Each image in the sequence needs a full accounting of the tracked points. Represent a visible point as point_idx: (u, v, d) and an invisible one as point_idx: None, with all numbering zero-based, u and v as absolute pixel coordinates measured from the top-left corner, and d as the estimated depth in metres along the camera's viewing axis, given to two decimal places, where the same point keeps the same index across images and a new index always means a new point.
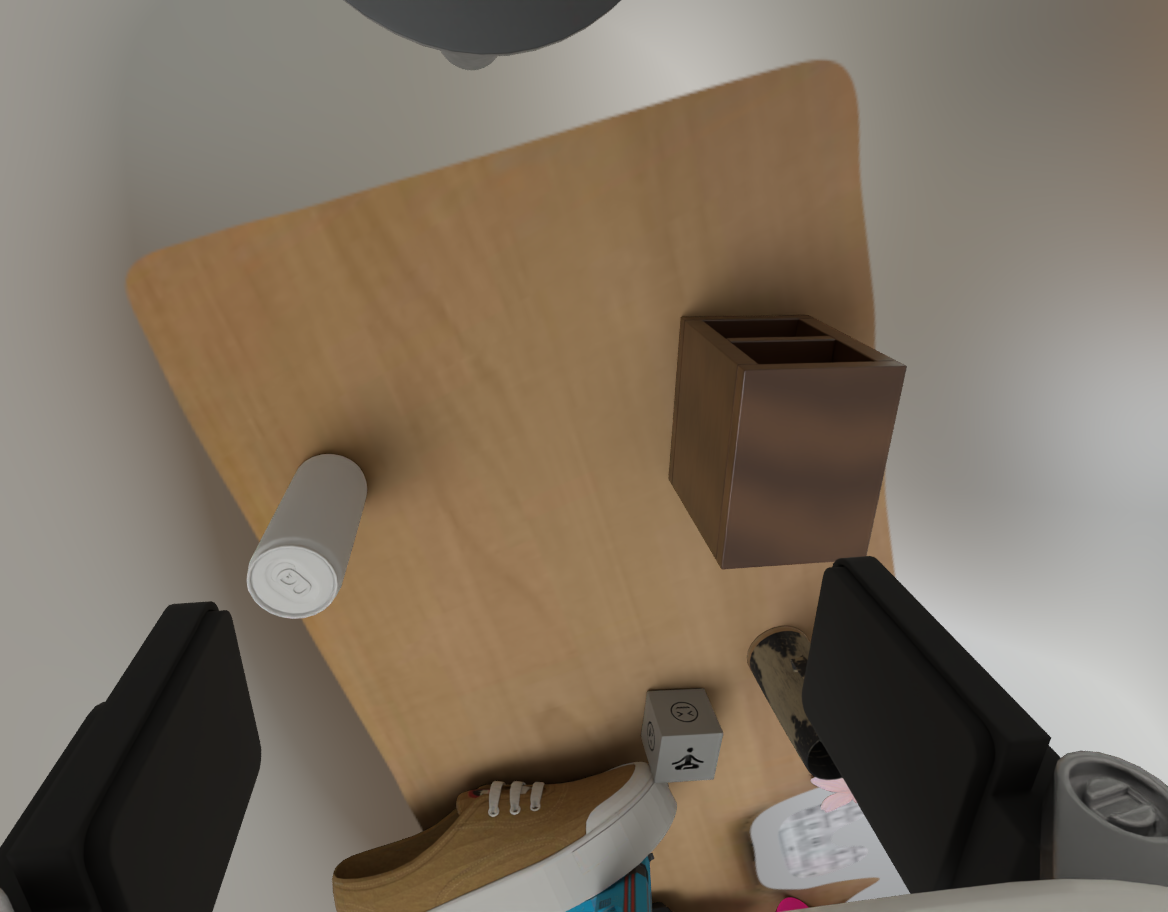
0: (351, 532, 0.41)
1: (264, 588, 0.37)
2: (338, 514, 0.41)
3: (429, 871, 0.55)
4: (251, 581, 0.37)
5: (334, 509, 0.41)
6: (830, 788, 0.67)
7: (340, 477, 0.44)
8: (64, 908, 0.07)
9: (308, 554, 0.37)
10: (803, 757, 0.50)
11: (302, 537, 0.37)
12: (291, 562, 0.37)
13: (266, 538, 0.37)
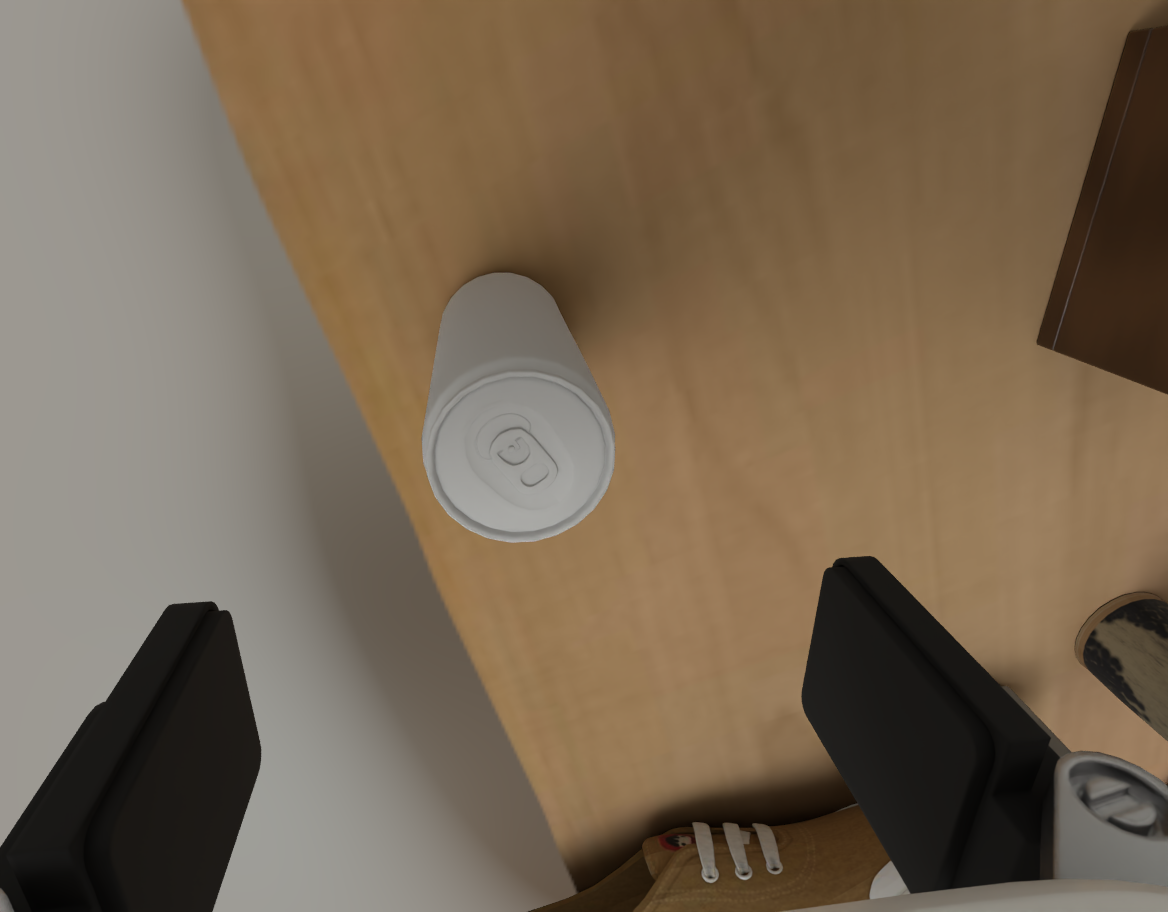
0: None
1: (460, 473, 0.17)
2: (573, 345, 0.20)
3: None
4: (434, 456, 0.17)
5: (565, 335, 0.20)
6: None
7: (543, 299, 0.24)
8: (64, 908, 0.07)
9: (561, 396, 0.16)
10: None
11: (545, 358, 0.17)
12: (524, 414, 0.17)
13: (462, 365, 0.17)
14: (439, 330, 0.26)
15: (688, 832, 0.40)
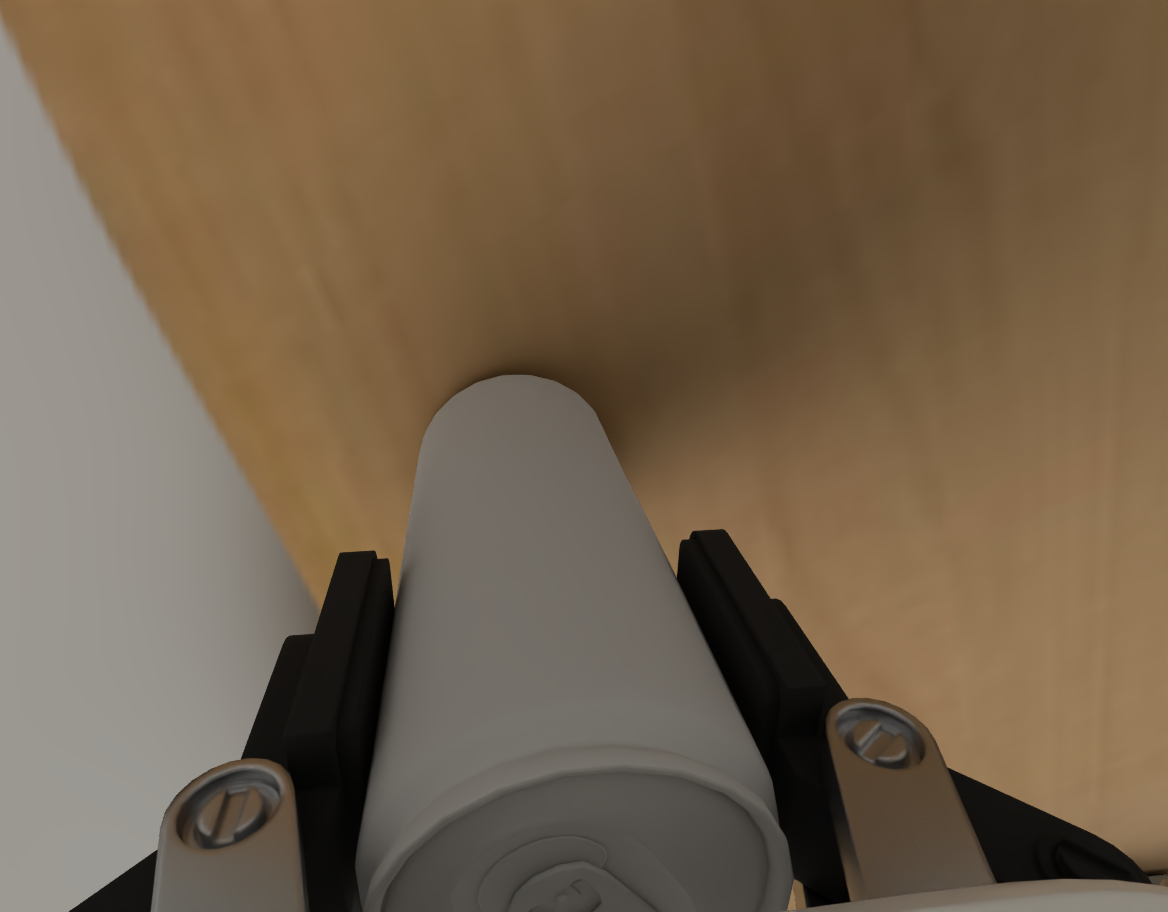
0: None
1: None
2: (659, 558, 0.11)
3: None
4: None
5: (642, 538, 0.11)
6: None
7: (587, 434, 0.14)
8: (317, 787, 0.08)
9: (682, 794, 0.07)
10: None
11: (637, 693, 0.07)
12: (593, 834, 0.07)
13: (446, 694, 0.08)
14: (417, 466, 0.17)
15: None
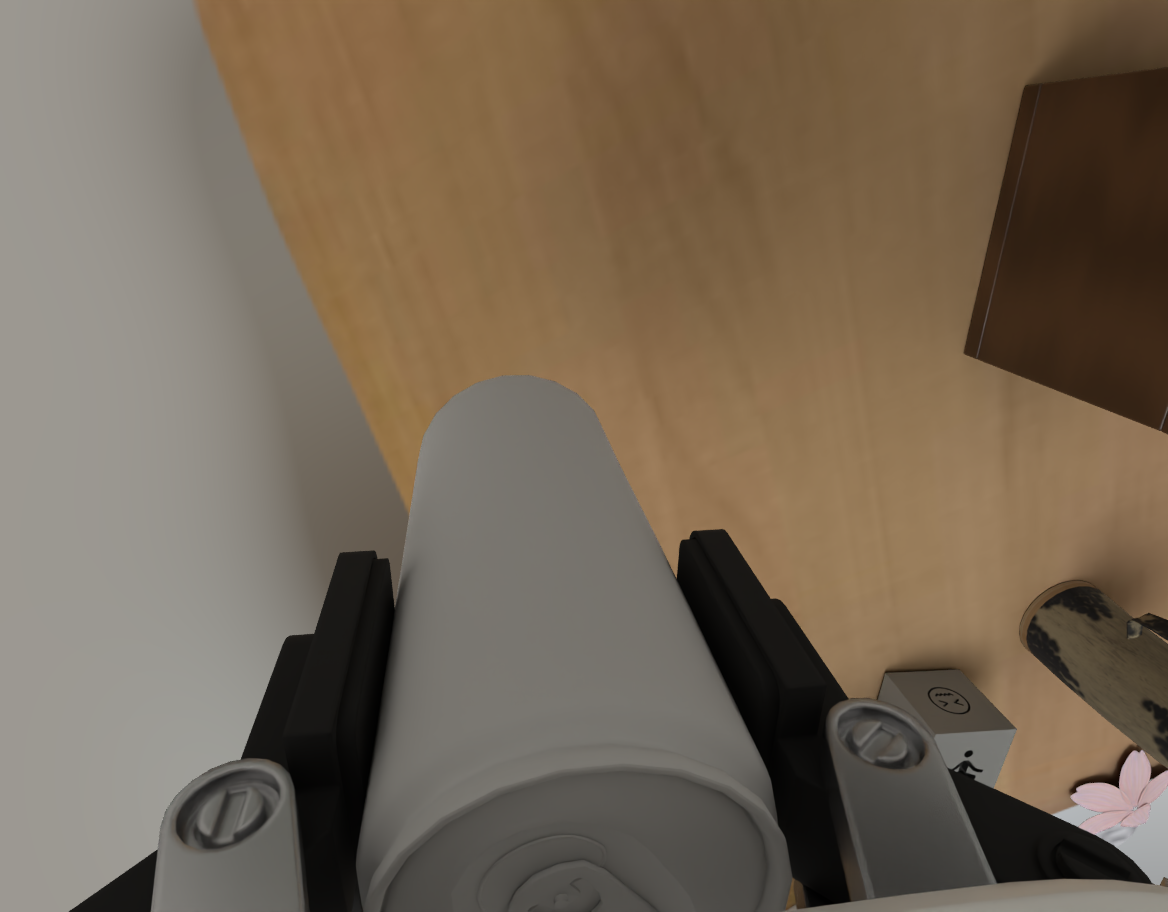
0: None
1: None
2: (659, 558, 0.11)
3: None
4: None
5: (641, 538, 0.11)
6: (1094, 807, 0.50)
7: (587, 434, 0.14)
8: (317, 787, 0.08)
9: (681, 794, 0.07)
10: None
11: (637, 693, 0.07)
12: (592, 834, 0.07)
13: (446, 694, 0.08)
14: (417, 466, 0.17)
15: None
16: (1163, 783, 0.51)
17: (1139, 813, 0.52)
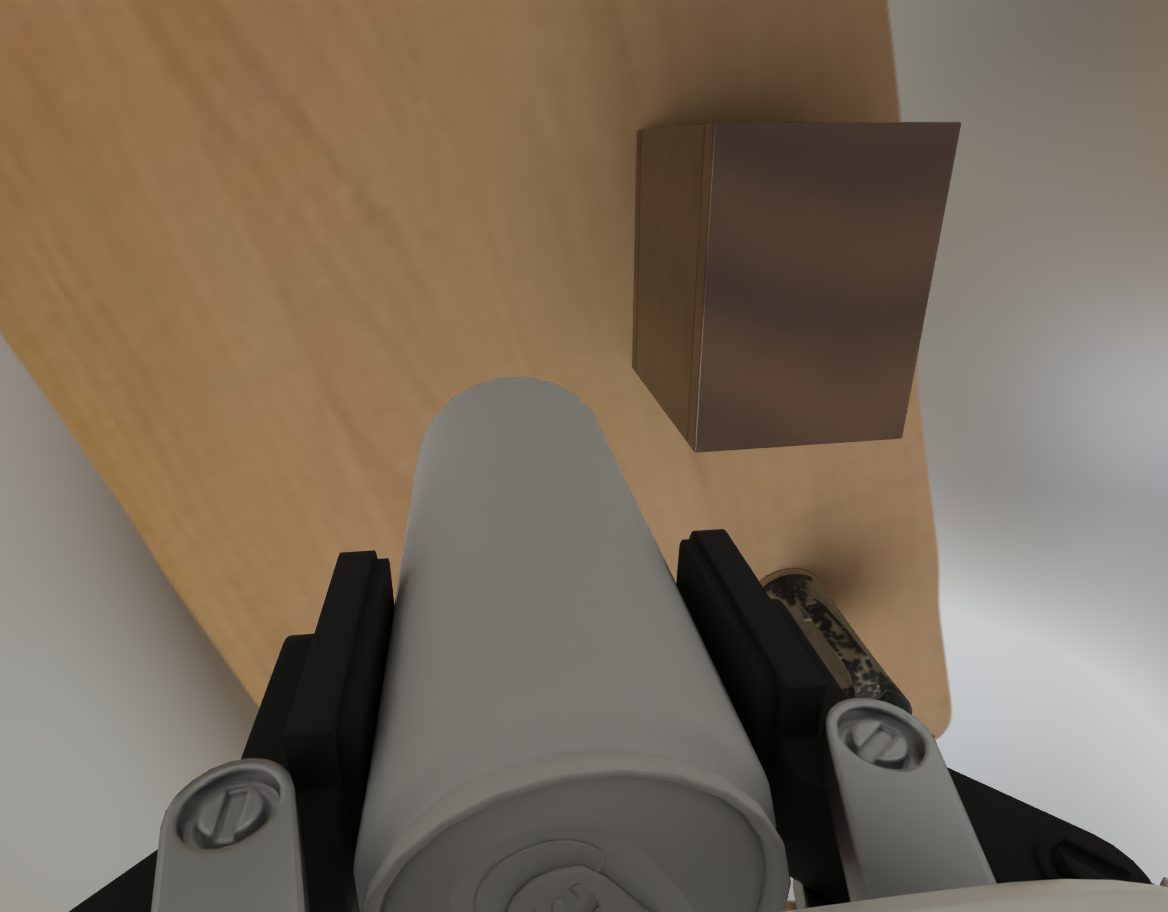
0: None
1: None
2: (658, 562, 0.11)
3: None
4: None
5: (640, 541, 0.11)
6: None
7: (586, 437, 0.14)
8: (317, 787, 0.08)
9: (679, 798, 0.07)
10: None
11: (635, 699, 0.07)
12: (591, 839, 0.07)
13: (444, 699, 0.08)
14: (416, 468, 0.17)
15: None
16: None
17: None
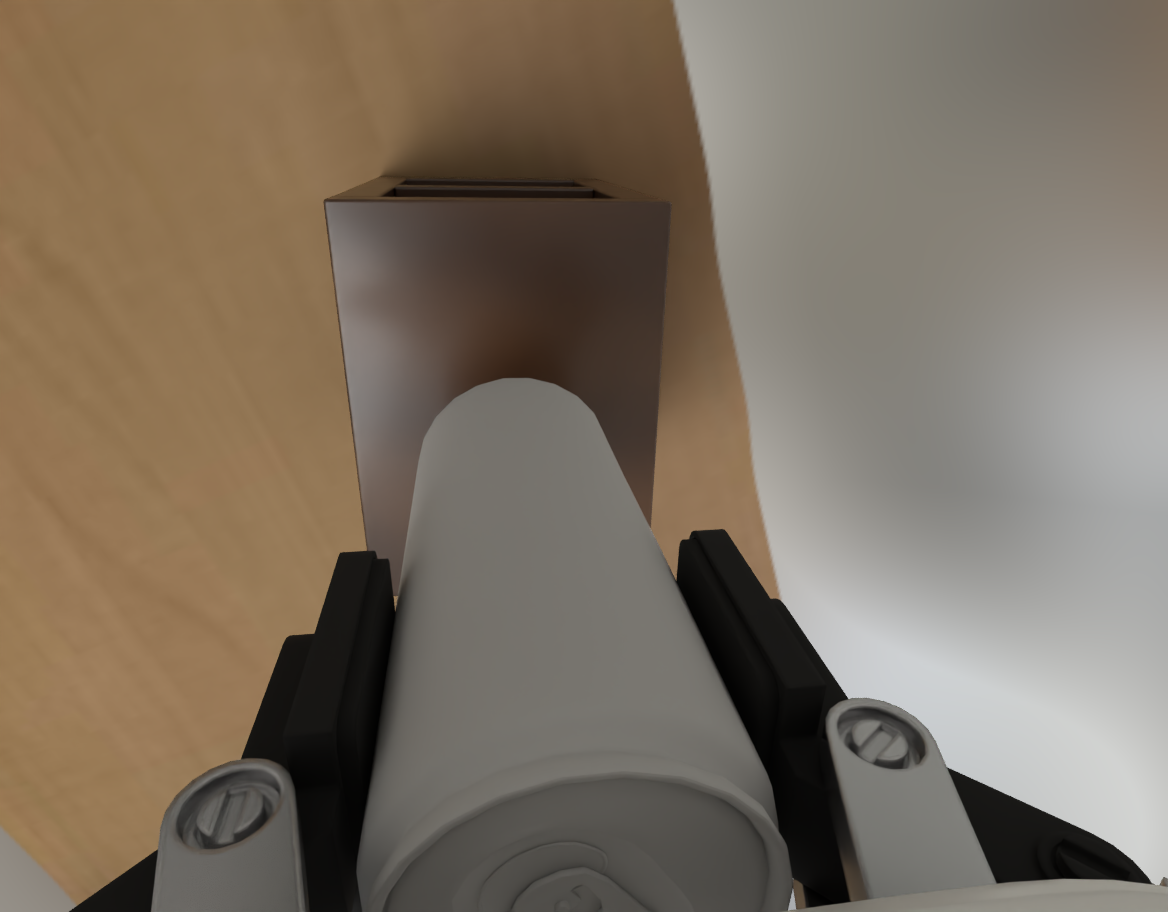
0: None
1: None
2: (660, 563, 0.11)
3: None
4: None
5: (642, 543, 0.11)
6: None
7: (587, 438, 0.14)
8: (317, 786, 0.08)
9: (682, 800, 0.07)
10: None
11: (638, 700, 0.07)
12: (594, 840, 0.07)
13: (447, 700, 0.08)
14: (417, 469, 0.17)
15: None
16: None
17: None
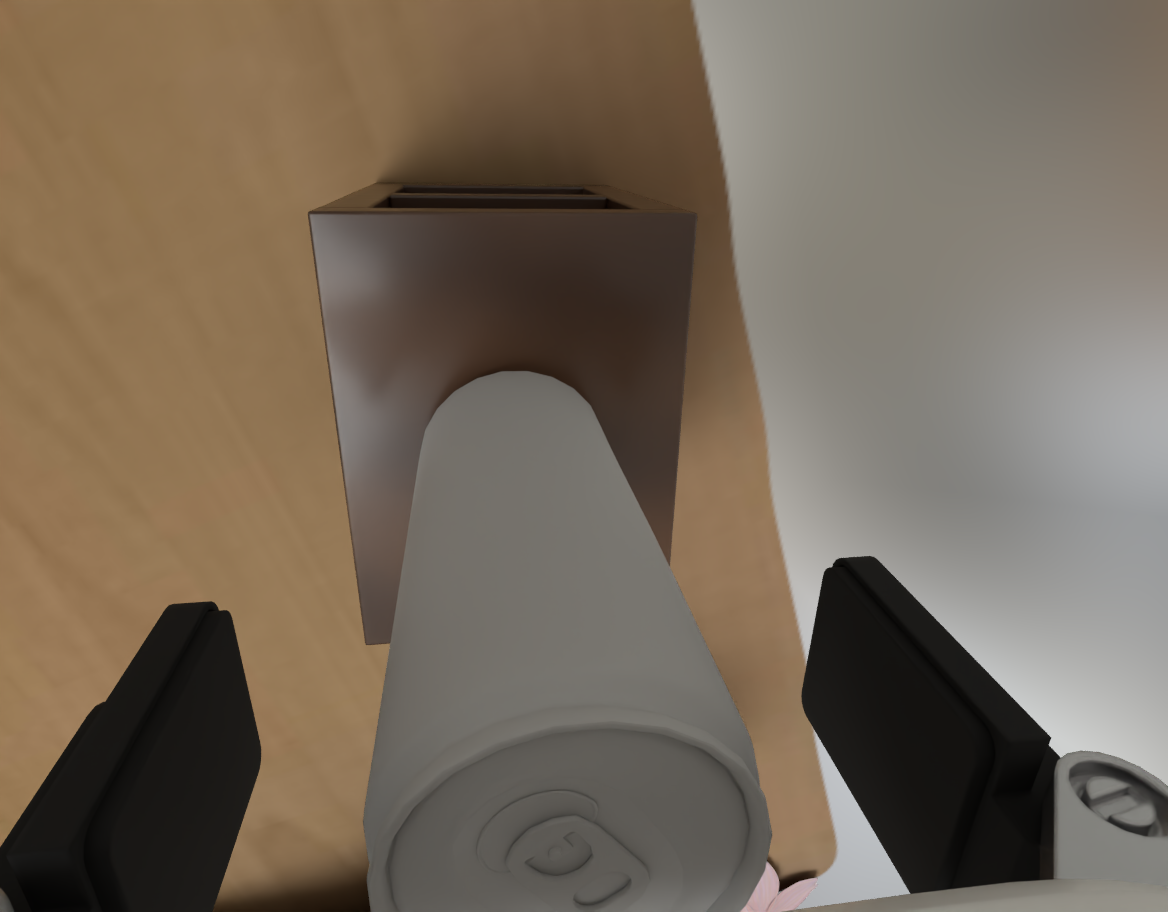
0: None
1: (444, 901, 0.08)
2: (651, 543, 0.11)
3: None
4: (387, 877, 0.08)
5: (634, 523, 0.12)
6: None
7: (584, 427, 0.15)
8: (64, 908, 0.07)
9: (666, 751, 0.07)
10: None
11: (626, 659, 0.08)
12: (584, 789, 0.08)
13: (448, 662, 0.08)
14: (419, 459, 0.17)
15: None
16: (800, 893, 0.47)
17: None
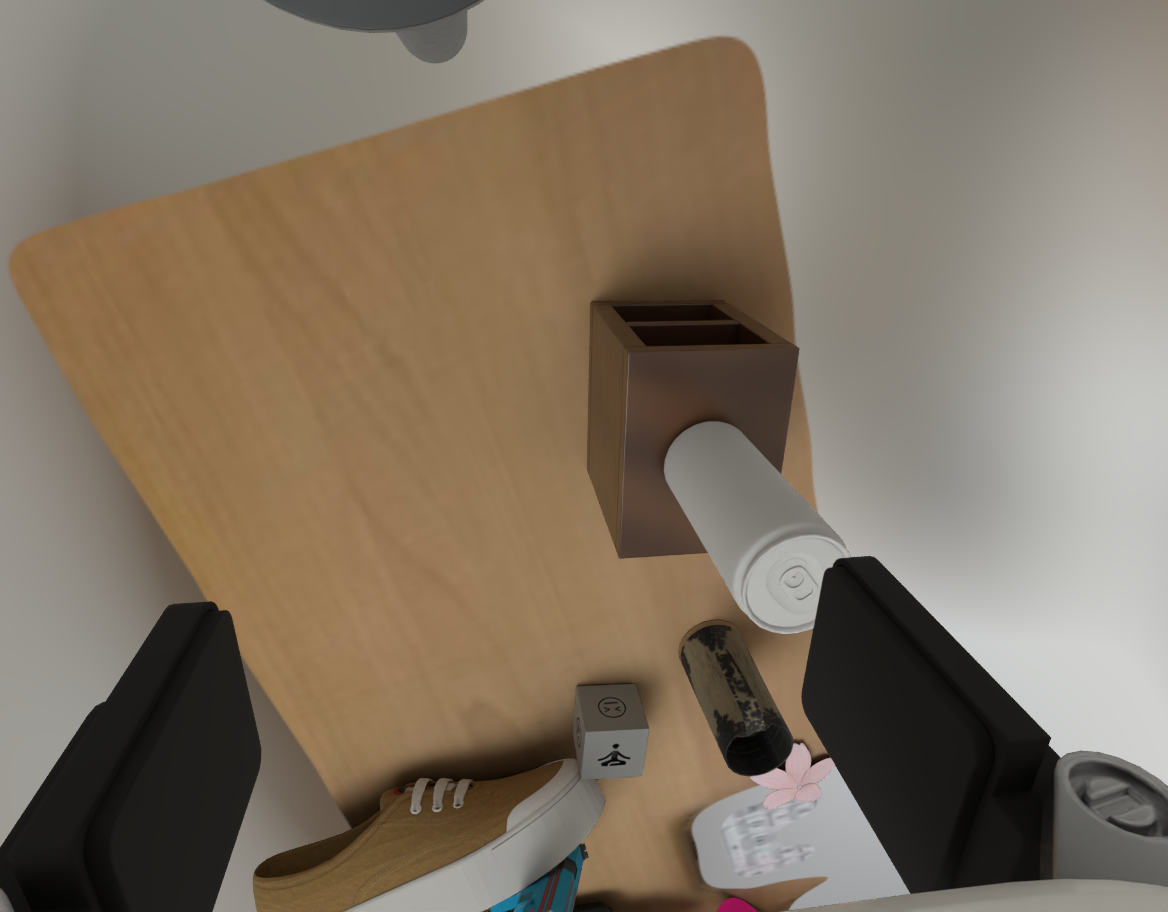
0: None
1: (760, 593, 0.27)
2: None
3: (347, 870, 0.54)
4: (747, 583, 0.27)
5: None
6: (770, 786, 0.66)
7: (756, 449, 0.34)
8: (64, 908, 0.07)
9: (827, 547, 0.27)
10: (723, 753, 0.49)
11: (814, 522, 0.27)
12: (804, 558, 0.27)
13: (758, 525, 0.27)
14: (667, 463, 0.36)
15: None
16: (825, 768, 0.66)
17: (811, 791, 0.67)
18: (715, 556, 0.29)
